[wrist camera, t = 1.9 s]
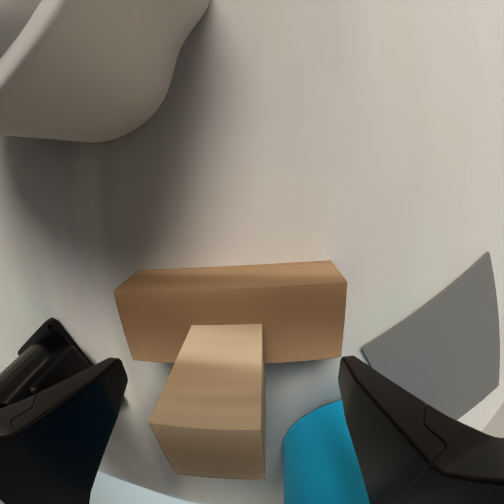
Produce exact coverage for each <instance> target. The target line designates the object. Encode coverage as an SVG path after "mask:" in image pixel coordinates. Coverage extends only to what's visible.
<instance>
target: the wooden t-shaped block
mask: <svg viewBox="0 0 504 504" xmlns="http://www.w3.org/2000/svg"><path fill="white" fill-rule="evenodd" d="M346 291H347V281H346V280H345V279H344V277H343V276H342V275H341V273H340V272H339V271H338V270H337V268H336V267H335V266H334V264H333V263H332V262H331V261H314V262H298V263H280V264H263V265H244V266H224V267H204V268H182V269H159V270H139V271H138V272H136V273H135V274H134V275H133V276H131V277H130V278H129V279H128V280H127V281H125V282H124V283H123V284H122V285H120V286H119V287H118V288H117V289H116V290H114V291H113V292H114V296H115V300H116V304H117V308H118V312H119V315H120V319H121V323H122V326H123V329H124V333H125V336H126V340H127V343H128V346H129V349H130V352H131V355H132V358H133V360H139V361H151V362H165V363H174V365H173V368H172V370H171V372H170V374H169V377H168V379H167V381H166V383H165V386H164V388H163V390H162V393H161V395H160V397H159V399H158V402H157V404H156V406H155V409H154V411H153V413H152V416H151V418H150V420H149V425H150V427H151V429H152V431H153V433H154V435H155V437H156V439H157V441H158V443H159V445H160V446H161V448H162V450H163V452H164V454H165V456H166V457H167V459H168V461H169V463H170V465H171V466H172V468H173V470H174V471H175V473H176V474H183V475H191V476H200V477H211V478H226V479H265V363H282V362H297V361H309V360H319V359H329V358H337V357H341V349H342V340H343V330H344V319H345V306H346Z"/></svg>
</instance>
